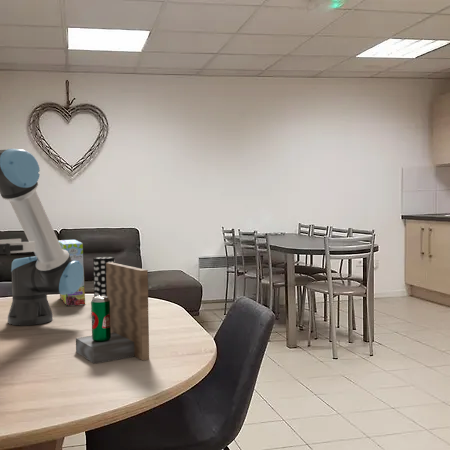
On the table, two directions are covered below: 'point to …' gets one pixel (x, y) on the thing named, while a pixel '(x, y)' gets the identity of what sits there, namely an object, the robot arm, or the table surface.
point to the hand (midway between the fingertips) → (27, 244)
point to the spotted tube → (101, 275)
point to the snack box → (77, 254)
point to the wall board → (122, 317)
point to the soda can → (100, 319)
